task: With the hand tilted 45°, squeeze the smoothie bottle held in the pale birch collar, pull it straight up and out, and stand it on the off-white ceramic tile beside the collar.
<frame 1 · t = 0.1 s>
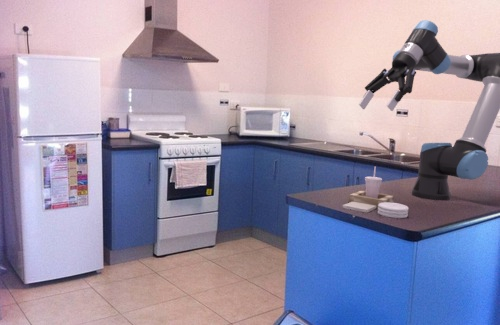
hand: (374, 107, 156), 36 cm above the countertop, tool tilted 35°, fingers open, 13 cm apart
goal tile: (359, 208, 164), on the countertop
smoothie: (371, 203, 174), resting in bottle collar
coaster: (392, 215, 157), on the countertop
bottle collar: (371, 203, 174), on the countertop
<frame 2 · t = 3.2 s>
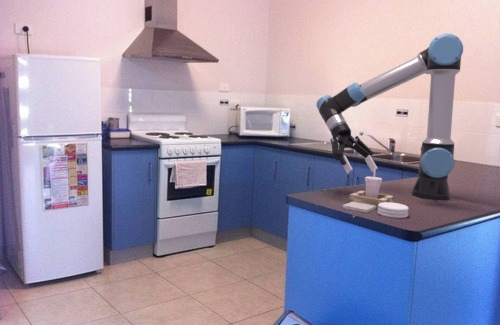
hand: (362, 171, 176), 12 cm above the countertop, tool tilted 45°, fingers open, 13 cm apart
nothing on the countertop moved.
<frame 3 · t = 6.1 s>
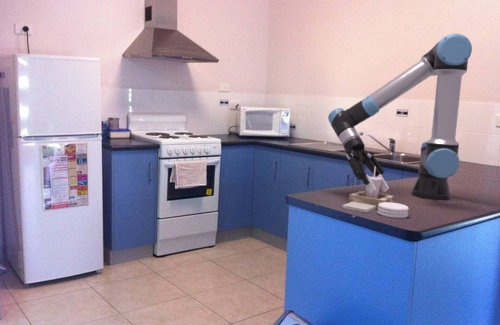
hand: (379, 190, 170), 5 cm above the countertop, tool tilted 45°, fingers closed on smoothie, 6 cm apart
smoothie: (371, 203, 174), resting in bottle collar, touching gripper
everything else where it was.
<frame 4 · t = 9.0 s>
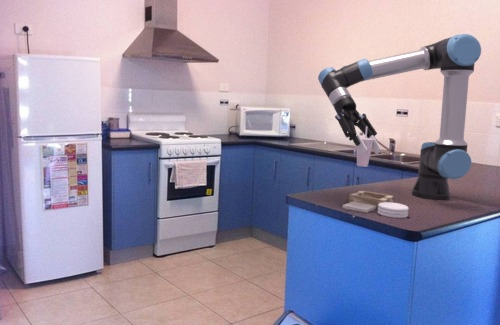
hand: (371, 152, 158), 21 cm above the countertop, tool tilted 45°, fingers closed on smoothie, 6 cm apart
smoothie: (362, 166, 162), point 15 cm above the countertop, touching gripper
everything else where it was.
when the fingers open (7 cm above the countertop, at t = 12.2 s): smoothie stays where it is, resting on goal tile.
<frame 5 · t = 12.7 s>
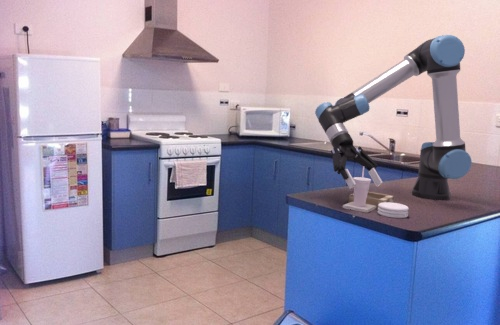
hand: (366, 185, 160), 9 cm above the countertop, tool tilted 45°, fingers open, 13 cm apart
smoothie: (359, 205, 163), point 1 cm above the countertop, touching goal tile
everything else where it was.
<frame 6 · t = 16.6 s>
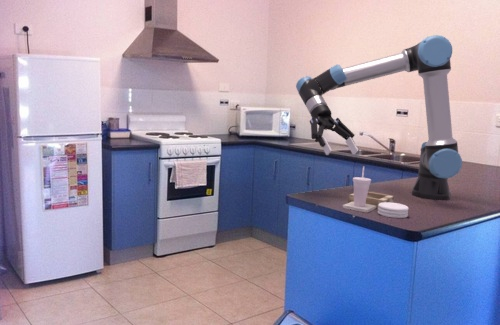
hand: (342, 152, 170), 19 cm above the countertop, tool tilted 45°, fingers open, 13 cm apart
nothing on the countertop moved.
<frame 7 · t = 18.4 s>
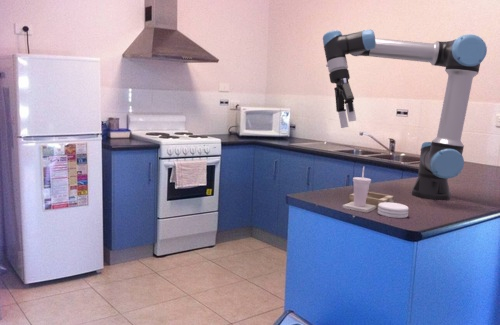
hand: (348, 124, 177), 29 cm above the countertop, tool tilted 20°, fingers open, 13 cm apart
nothing on the countertop moved.
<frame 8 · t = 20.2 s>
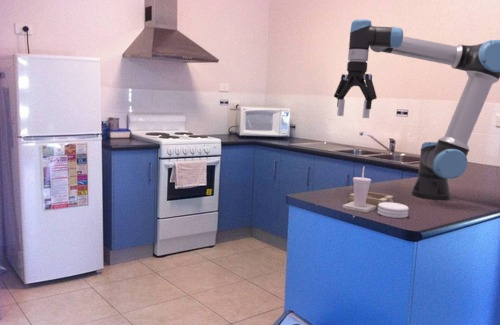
hand: (352, 117, 180), 32 cm above the countertop, tool pointing down, fingers open, 13 cm apart
nothing on the countertop moved.
at the end: smoothie inside the target area on the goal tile (0.0 cm from its centre), point 0.8 cm above the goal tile's base; smoothie tilted 0°; the gripper is holding nothing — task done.
